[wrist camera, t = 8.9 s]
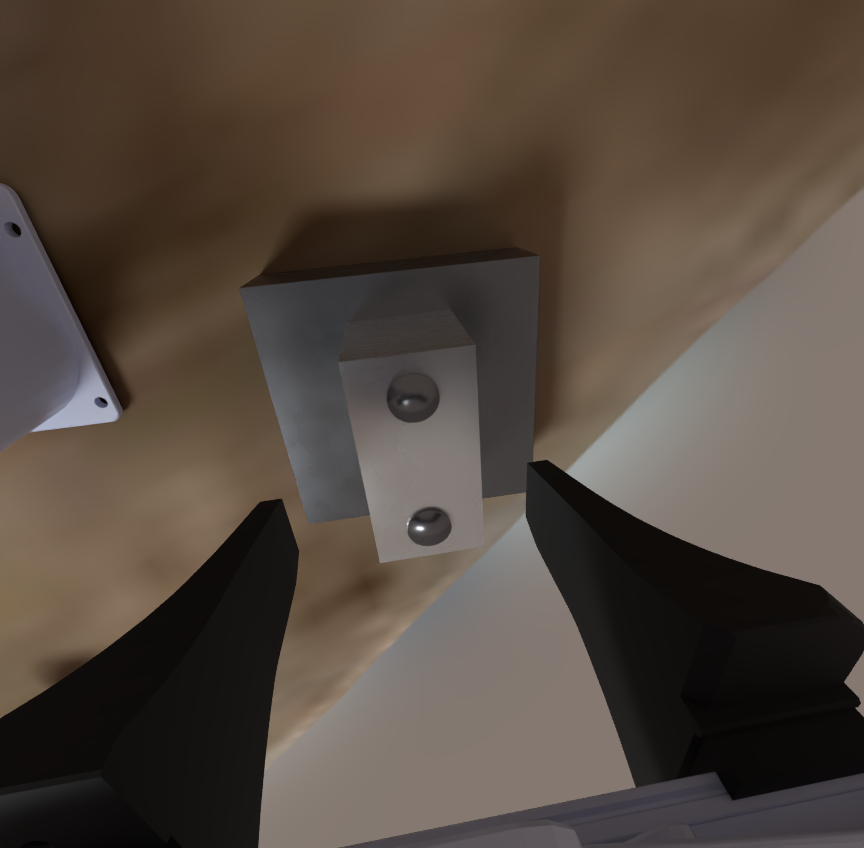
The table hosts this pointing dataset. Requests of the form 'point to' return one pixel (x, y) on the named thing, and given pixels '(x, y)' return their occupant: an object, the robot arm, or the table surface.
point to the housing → (416, 431)
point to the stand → (387, 297)
